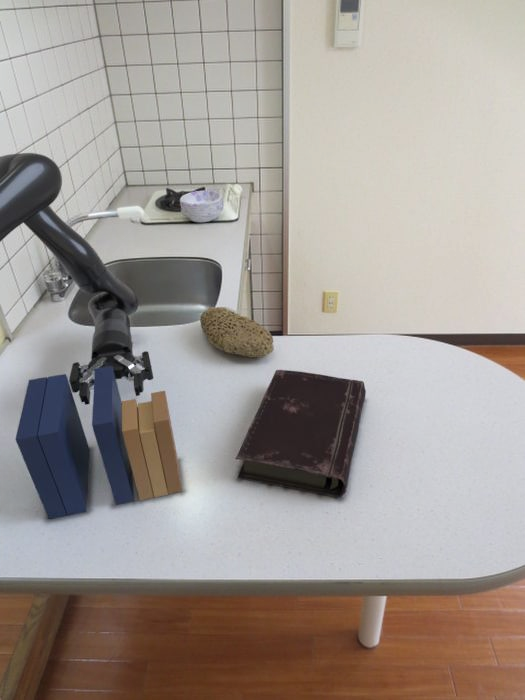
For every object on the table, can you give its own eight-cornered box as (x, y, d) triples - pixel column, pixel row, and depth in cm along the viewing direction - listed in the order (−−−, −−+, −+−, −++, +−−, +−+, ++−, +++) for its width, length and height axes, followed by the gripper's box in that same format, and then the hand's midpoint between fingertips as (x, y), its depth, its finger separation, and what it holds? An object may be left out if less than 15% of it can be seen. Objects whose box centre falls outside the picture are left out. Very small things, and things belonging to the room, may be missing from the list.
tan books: (139, 500, 84) (121, 428, 75) (138, 469, 89) (120, 398, 81) (182, 491, 85) (168, 419, 76) (178, 461, 91) (165, 390, 82)
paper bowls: (181, 227, 183) (178, 205, 179) (183, 212, 196) (180, 191, 191) (224, 224, 184) (223, 202, 179) (224, 209, 196) (222, 188, 192)
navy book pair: (48, 519, 81) (15, 439, 72) (56, 456, 93) (28, 379, 83) (86, 511, 82) (58, 431, 73) (89, 450, 94) (66, 373, 84)
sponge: (196, 336, 126) (220, 366, 108) (196, 305, 123) (221, 329, 106) (247, 333, 130) (279, 361, 113) (249, 303, 128) (281, 326, 111)
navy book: (115, 505, 83) (91, 425, 74) (115, 444, 94) (94, 368, 85) (133, 501, 84) (112, 421, 74) (131, 441, 95) (112, 365, 85)
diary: (365, 400, 102) (367, 380, 99) (345, 500, 82) (347, 478, 79) (272, 387, 106) (271, 367, 104) (232, 478, 87) (230, 456, 84)
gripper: (69, 334, 99) (62, 386, 86) (146, 323, 101) (150, 371, 88) (79, 367, 103) (73, 420, 90) (152, 355, 106) (157, 405, 92)
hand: (111, 396), depth 89 cm, fingers open, 8 cm apart
